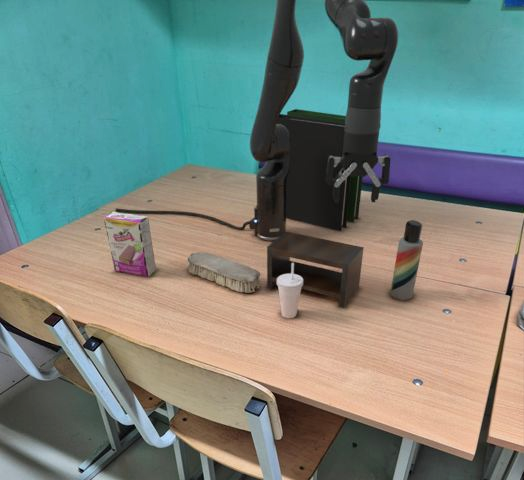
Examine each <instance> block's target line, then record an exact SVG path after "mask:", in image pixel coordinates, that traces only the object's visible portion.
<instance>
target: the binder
mask: <svg viewBox="0 0 524 480" xmlns="http://www.w3.org/2000/svg"><path fill="white" fill-rule="evenodd" d="M286 113H287V114H285V113H280V115H279V117H278V120H277V123H276V124H281V125H283V126H285V127H286V128H287V130H288V132H289V135H290V139H291V154H290V168H289V173H288V176H287V185H286V219H288V220H293V221H295V222H296V221H297V222H301V223H304V224H305V223H306V224H309V225H314V226H316V227H317V226H318V227H321V228H326V229H329V230H334V231H339V232H342V228H344V229H346V228H347V222H350V223H354V222H355V219H356V220H358V219H359V217H360V216H359V213H360V205H361V196H362V187H363V178H364V177H360V176H356V177H351V176H348V177H347V178H346V179H345V180H344V181H343V182H342V183H341V184H340V185H339V186H340V195H339V203H336V202H335V201H334V200H333V186H332V185H328V184H327V183H326V171H327V163H328V157H329V156H330V155H332V156H333V157H341V155H342V153H343V142H344V130H345V118H346V115H342V114H335V113H328V112H321V111H314V110H305V109H298V108H294V109H291V110H288V111H287V112H286ZM342 168H343V166H342V165H341V163H340V162H339V163H338V164H337V166H336V167H334V169H333V177H332V178H333V179H335V178H336V177H337V175H338V174H339V172H340V171H341V169H342Z"/></svg>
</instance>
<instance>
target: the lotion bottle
mask: <svg viewBox="0 0 524 480" xmlns="http://www.w3.org/2000/svg"><path fill="white" fill-rule="evenodd" d="M422 229H423V224H422V223H421V222H420V221H417V220H415V219H411V220H408V221H406V223H405V227H404V233H403V237H401V238H399V241H398V243H397V244H398V245H397V251H396V256H395V263H394V267H393V268H394V269H393V273H392V274H393V275H392V281H391V288H390V295H391V297H393V298H394V299H395V300H400V301H406V300H410V299H411V298H413V295H414V291H415V286H416V281H417V275H418V270H419V265H420V261H421V256H422V250H423V245H424V241H423V240H422V239H421V234H422Z"/></svg>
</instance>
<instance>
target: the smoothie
mask: <svg viewBox="0 0 524 480" xmlns="http://www.w3.org/2000/svg"><path fill="white" fill-rule="evenodd" d="M276 286H277V288H278V295H279V296H278V297H279V303H280V313H281V316H282V317H283V318H285V319H293V318H295V317H296V316H297V315H298V310H299V309H298V308H299V304H300V298H301V292H302V289H301V287H302V286H303V278H302V277H301V276H299V275H297V274H294V263H292V269H291V274H283V275H280V276H279V277H278V278H277V283H276Z"/></svg>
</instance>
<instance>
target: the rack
mask: <svg viewBox="0 0 524 480" xmlns="http://www.w3.org/2000/svg"><path fill="white" fill-rule="evenodd" d="M364 250H365V249H364V246H360V245H354V244H350V243H344V242H340V241H335V240H331V239H330V240H329V239H325V238H321V237H316V236H310V235H307V234H301V233H296V232H290V231H287V230H286V232H285V233H284V234H282V235H281V236H280V237H279V238H277V239H276V240H275V241H271V243H270V244H268V245H267V246H266V287H267V289H270V290H272V289H274V288H275V287H276V286H277V284H276V283H277V278H278V277H279V276H280V275H283V274H291V269H292V263H294V274H297V275H299V276H301V277H302V278H303V286H302V287H301V290H304V291H309V292H313V293H318V294H321V295H325V296H328V297H331V298H332V297H333V298H337V299H339V300H338V303H339V304H338V307H339V308H343V309H344V308H346V307H347V305H348V303H349V302H350V301H351V299H352V298H353V297H354V296H355V294H356V293H357V292H358V291H359V289H360V284H361V283H360V281H361V273H362V265H363V257H364ZM291 259H296V260H300V261H304V262H309V263H312V264H318V265H321V266H322V265H323V266H326V267H331V268H336V269H340V270H341V271H337V270H333V269H329V268H324V267H319V266H316V265H312V264H307V263H302V262H298V261H294V260H291Z"/></svg>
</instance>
